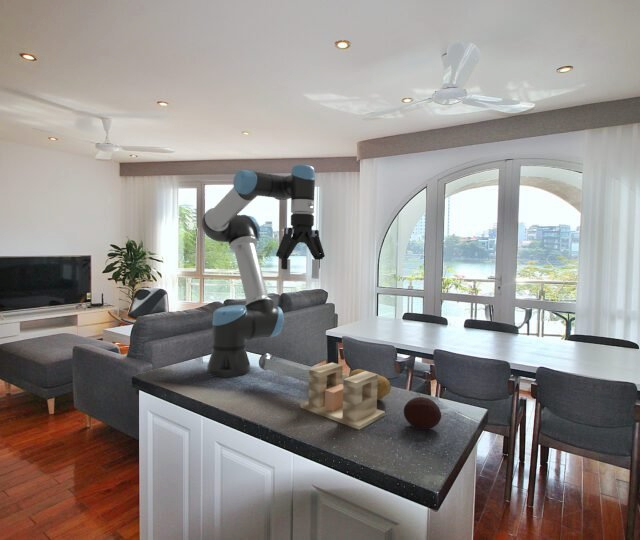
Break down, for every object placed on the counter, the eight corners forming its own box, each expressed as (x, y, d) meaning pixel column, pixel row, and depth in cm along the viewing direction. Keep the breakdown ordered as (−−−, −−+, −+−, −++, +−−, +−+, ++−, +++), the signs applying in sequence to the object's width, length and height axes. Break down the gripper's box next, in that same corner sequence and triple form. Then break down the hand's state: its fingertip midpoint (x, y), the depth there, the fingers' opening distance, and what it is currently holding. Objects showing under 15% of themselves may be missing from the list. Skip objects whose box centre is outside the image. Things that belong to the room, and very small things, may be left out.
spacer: (325, 390, 106) (333, 392, 105) (340, 383, 112) (349, 386, 110) (324, 407, 107) (333, 411, 105) (340, 401, 112) (348, 403, 110)
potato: (378, 410, 109) (378, 381, 108) (341, 396, 119) (341, 370, 119) (398, 401, 116) (399, 374, 115) (361, 388, 126) (362, 364, 125)
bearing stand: (300, 407, 109) (301, 368, 109) (328, 396, 118) (329, 360, 118) (359, 429, 96) (360, 385, 96) (384, 415, 105) (386, 375, 105)
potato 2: (402, 419, 103) (403, 390, 102) (439, 423, 101) (440, 393, 101) (403, 433, 95) (404, 402, 95) (442, 437, 93) (444, 405, 93)
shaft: (258, 370, 126) (258, 354, 126) (270, 367, 130) (270, 352, 130) (319, 390, 109) (319, 372, 109) (331, 386, 113) (331, 368, 113)
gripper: (282, 209, 115) (281, 281, 116) (335, 216, 133) (334, 278, 134) (265, 210, 120) (264, 279, 121) (319, 217, 138) (318, 277, 139)
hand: (301, 279), depth 127 cm, fingers open, 13 cm apart
